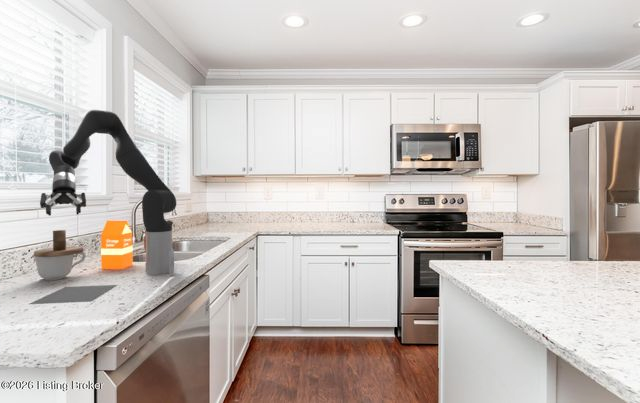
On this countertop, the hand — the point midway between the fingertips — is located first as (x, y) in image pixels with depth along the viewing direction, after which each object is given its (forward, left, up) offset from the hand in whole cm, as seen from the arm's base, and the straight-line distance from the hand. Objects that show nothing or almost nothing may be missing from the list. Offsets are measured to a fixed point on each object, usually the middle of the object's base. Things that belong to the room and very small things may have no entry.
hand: (63, 213), depth 123 cm
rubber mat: (-21, +30, -24) cm, 44 cm away
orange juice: (-14, -10, -24) cm, 30 cm away
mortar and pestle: (-31, -12, -24) cm, 41 cm away
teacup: (-4, +9, -24) cm, 26 cm away
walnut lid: (-4, +9, -14) cm, 17 cm away
